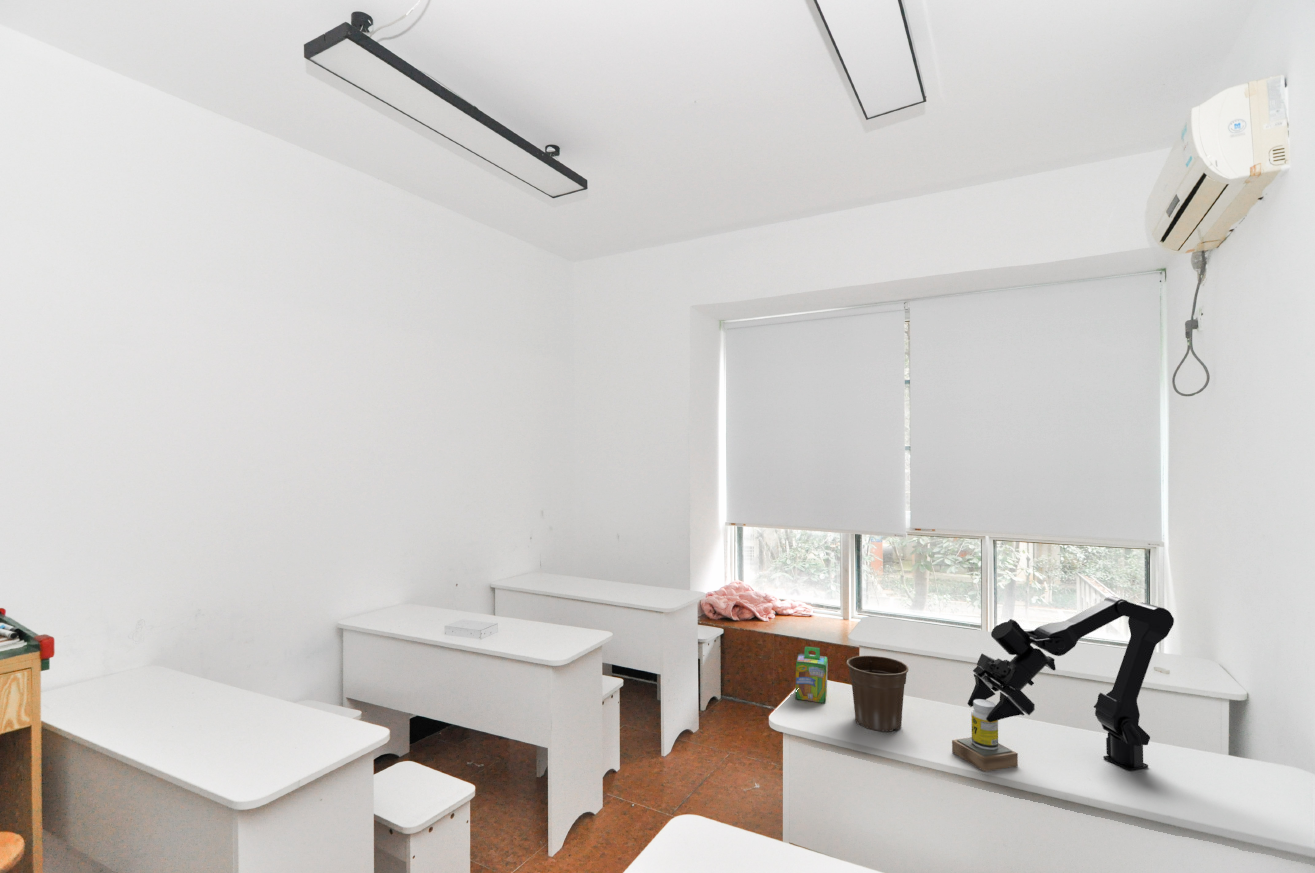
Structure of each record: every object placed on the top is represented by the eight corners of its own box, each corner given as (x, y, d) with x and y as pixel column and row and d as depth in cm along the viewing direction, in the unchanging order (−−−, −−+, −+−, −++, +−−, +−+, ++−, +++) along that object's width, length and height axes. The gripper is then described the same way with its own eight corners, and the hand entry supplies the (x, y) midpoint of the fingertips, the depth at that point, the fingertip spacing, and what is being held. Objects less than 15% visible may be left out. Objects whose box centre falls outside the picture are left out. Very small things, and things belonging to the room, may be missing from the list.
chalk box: (795, 699, 185) (795, 650, 186) (797, 689, 193) (798, 642, 194) (826, 703, 182) (826, 653, 183) (827, 693, 191) (828, 645, 191)
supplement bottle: (969, 738, 152) (969, 696, 153) (995, 741, 150) (995, 699, 151) (974, 748, 147) (973, 705, 147) (1000, 752, 145) (1000, 708, 145)
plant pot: (850, 732, 162) (850, 671, 163) (843, 709, 178) (843, 653, 179) (915, 738, 159) (914, 675, 160) (901, 713, 175) (901, 657, 176)
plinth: (1017, 765, 145) (1017, 751, 145) (984, 771, 142) (984, 757, 142) (983, 747, 155) (983, 734, 155) (952, 752, 152) (952, 738, 152)
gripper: (980, 633, 159) (937, 675, 159) (1020, 655, 140) (972, 703, 140) (1011, 664, 158) (968, 706, 158) (1055, 691, 140) (1007, 738, 140)
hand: (978, 712), depth 149 cm, fingers open, 9 cm apart
